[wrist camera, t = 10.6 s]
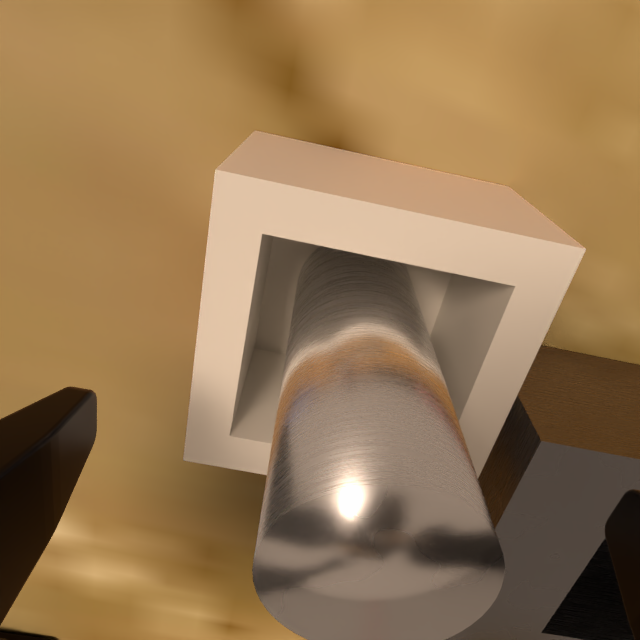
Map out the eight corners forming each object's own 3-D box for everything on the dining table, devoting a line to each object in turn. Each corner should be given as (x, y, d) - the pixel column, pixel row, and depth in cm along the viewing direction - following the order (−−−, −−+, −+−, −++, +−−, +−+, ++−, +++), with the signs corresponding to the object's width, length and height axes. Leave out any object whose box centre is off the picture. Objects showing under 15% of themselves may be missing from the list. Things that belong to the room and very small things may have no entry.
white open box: (431, 392, 17) (463, 509, 13) (223, 352, 17) (183, 460, 12) (508, 186, 14) (586, 249, 10) (255, 130, 14) (215, 169, 9)
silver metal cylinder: (393, 348, 15) (457, 667, 7) (287, 328, 15) (236, 635, 7) (425, 248, 14) (545, 511, 6) (308, 225, 14) (274, 465, 6)
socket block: (571, 667, 24) (623, 805, 20) (363, 634, 24) (369, 769, 19) (779, 393, 17) (935, 514, 13) (486, 334, 16) (541, 441, 12)
